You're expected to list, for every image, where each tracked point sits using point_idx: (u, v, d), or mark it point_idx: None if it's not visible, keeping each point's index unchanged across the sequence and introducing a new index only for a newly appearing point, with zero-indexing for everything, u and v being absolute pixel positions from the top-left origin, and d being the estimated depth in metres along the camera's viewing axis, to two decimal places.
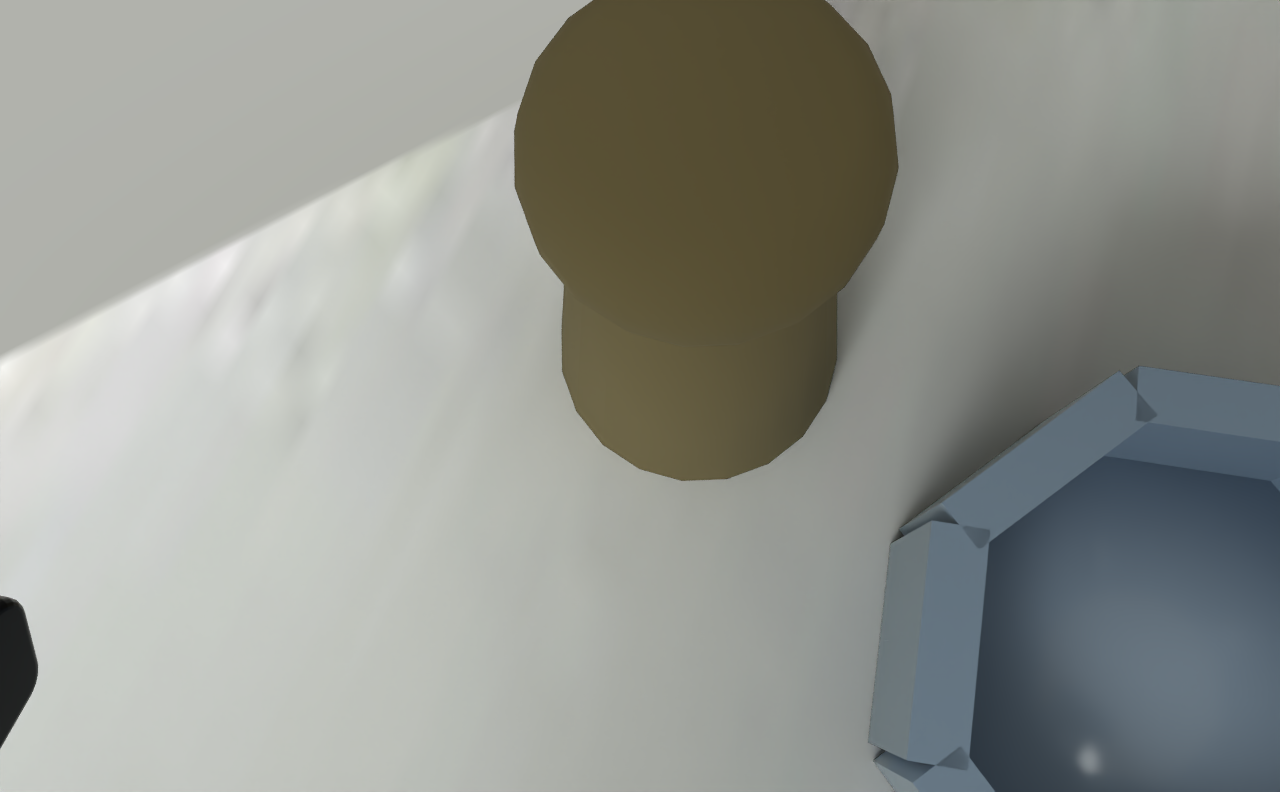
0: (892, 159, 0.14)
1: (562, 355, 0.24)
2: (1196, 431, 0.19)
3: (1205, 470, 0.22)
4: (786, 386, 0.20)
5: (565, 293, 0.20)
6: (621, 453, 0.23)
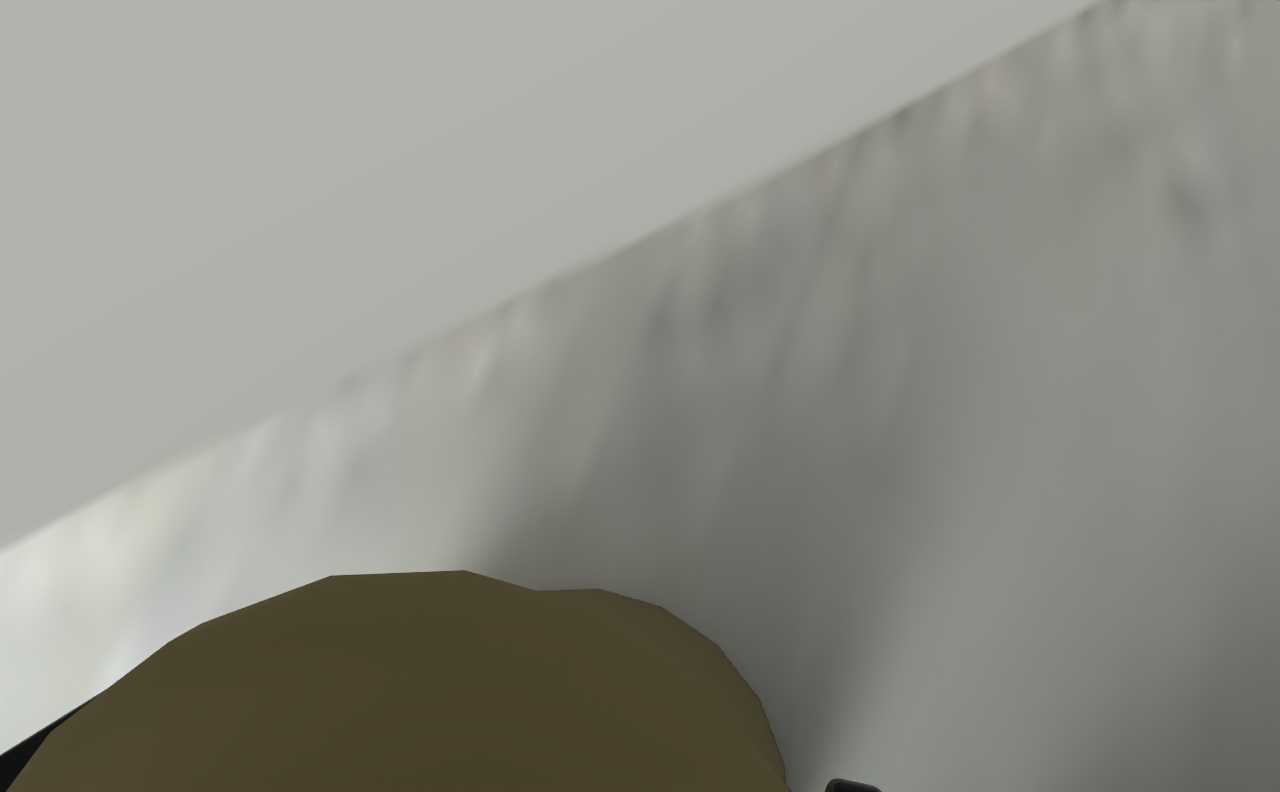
0: None
1: None
2: None
3: None
4: None
5: None
6: None
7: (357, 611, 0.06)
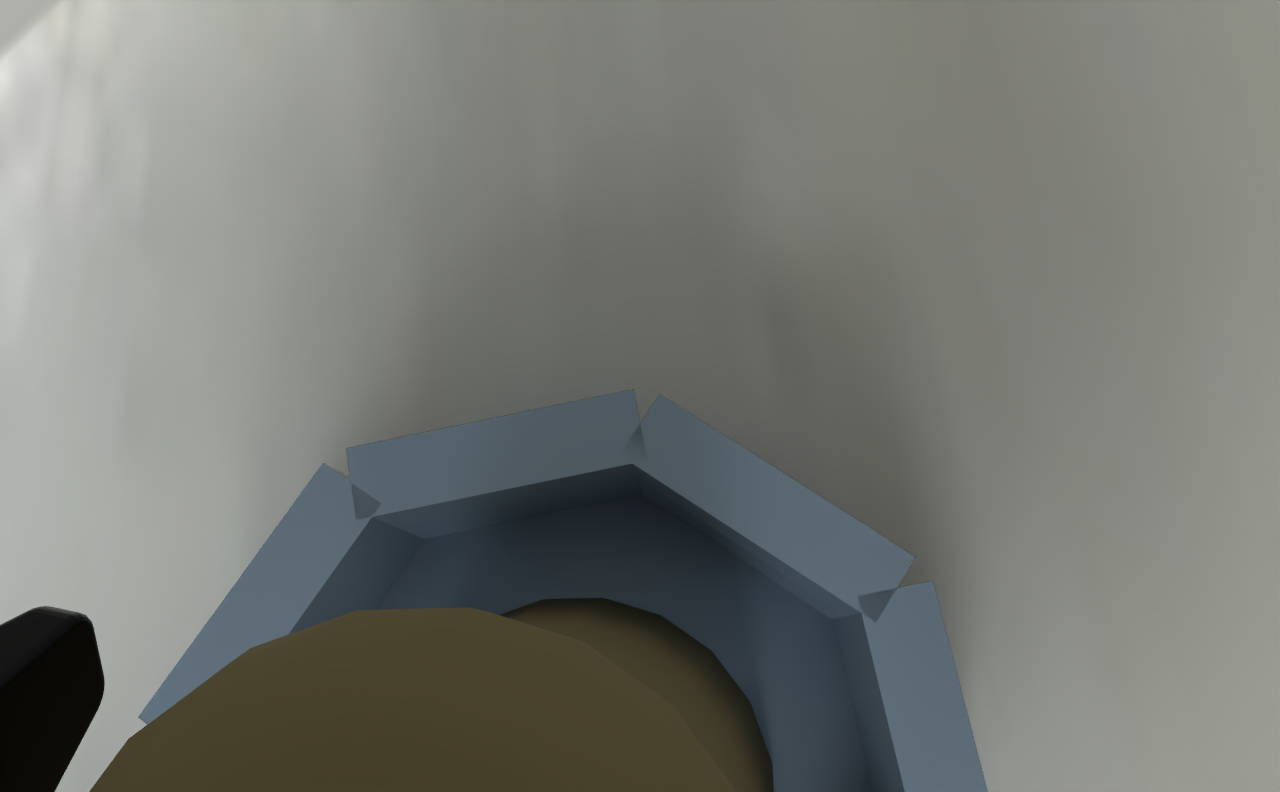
0: None
1: None
2: (438, 504, 0.15)
3: (563, 510, 0.18)
4: None
5: None
6: None
7: (378, 645, 0.07)
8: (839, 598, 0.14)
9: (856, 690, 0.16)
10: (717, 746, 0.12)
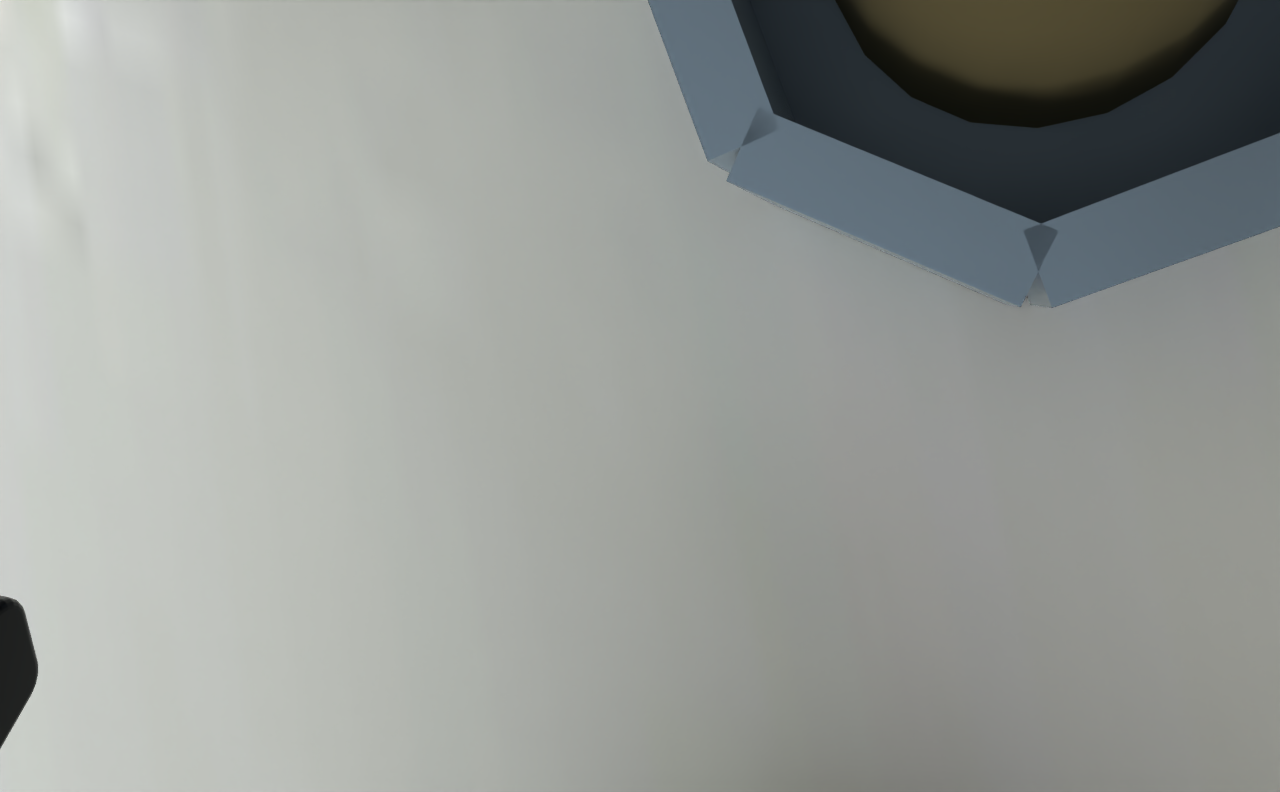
0: None
1: None
2: None
3: None
4: None
5: None
6: (941, 104, 0.16)
7: None
8: None
9: None
10: None
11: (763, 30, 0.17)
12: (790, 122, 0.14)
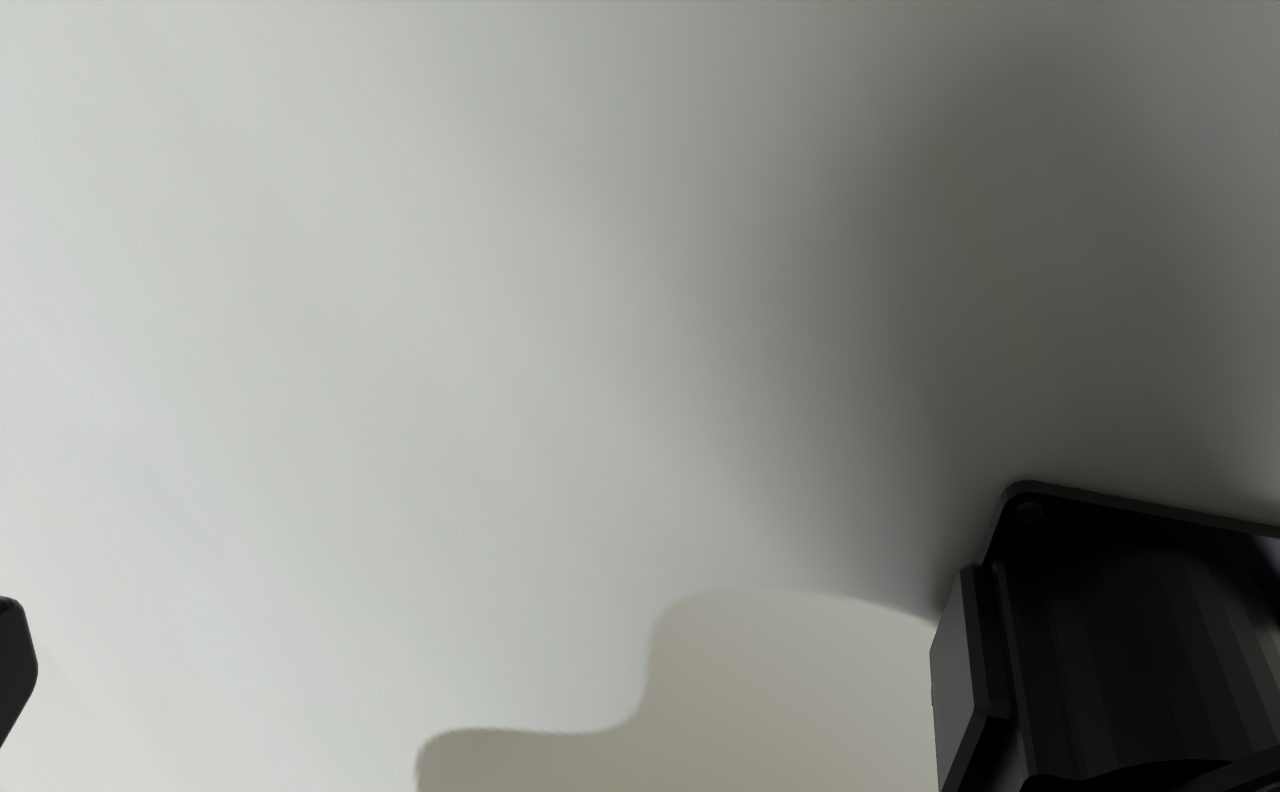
0: None
1: None
2: None
3: None
4: None
5: None
6: None
7: None
8: None
9: None
10: None
11: None
12: None
